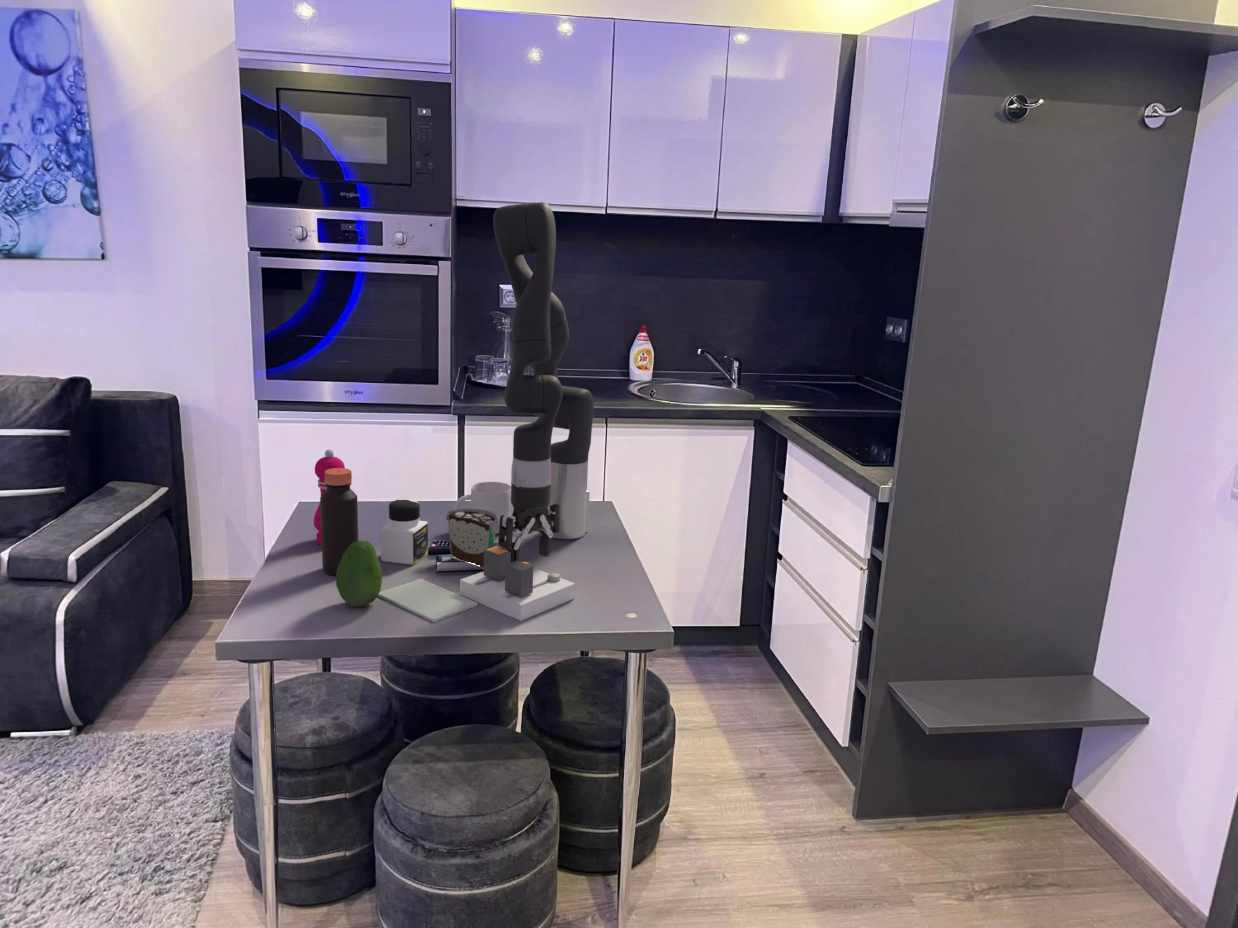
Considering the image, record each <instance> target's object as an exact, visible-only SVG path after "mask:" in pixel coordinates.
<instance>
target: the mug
mask: <svg viewBox="0 0 1238 928" xmlns="http://www.w3.org/2000/svg"><path fill="white" fill-rule="evenodd" d="M470 489H471V490H470V494H464V495H463V496H460V497H459V498H458V499H457V500H456V502H455V503H454V505H453V510H454V509H460V505H461V504H462V503H464V502H465V501H470V508H474V509H483V510H487V511H490V512H493V513H494V514H495V515H496V516H497V518H498V521H499V523H500V517H501V516H502V515H504V516H511V511H512V503H511V484H508V483H505V482H500V481H482V482H477V483H474V484H473V485H472V486H471V488H470ZM496 534H499V529H498V530H497V531H496V533H495V535H496Z"/></svg>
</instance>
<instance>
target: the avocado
mask: <svg viewBox="0 0 1238 928" xmlns="http://www.w3.org/2000/svg"><path fill="white" fill-rule="evenodd" d="M335 578H336V579H335V581H336V584H335V585H336V587H337V591H338V592H339V593H338V594H339V595H340V597H341V598H342V600H343V601H344V602H345V603H346V604H348V605H350V606H351V607H359V608H360V607H362V608H364V607H365V606H367V605H369V604H371V603H373V602H374V601H375V600H376V598H377V597H378V596H377V595H378V594H379V592H381V589H382V585H383V570H382V568H381V564H380V561H379V559H378V555H377V553H376V549H375V547H374V545H372V543H371V542H370V541H368V540H363V539H362V540H358V541H357V542H353V543H352V544H351V545H350V546H349V547H348V548H347V550H346V551H345V553H344V554H343V557H342V559H341V561H340V564H339V566H338V569H337V572H336V576H335Z"/></svg>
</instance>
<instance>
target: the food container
mask: <svg viewBox="0 0 1238 928" xmlns="http://www.w3.org/2000/svg"><path fill="white" fill-rule="evenodd" d="M445 515H446V516H445V517H446V518H445V521H447V525H448V537H449V547H450V548H449V551H450V556H451V555H453V556H455V557H456V558H458V559H460V560H464V561H467V562H471V563H475V564H476V565H480V567H481V568H480V567H479V568H480V569H483V570H484V550H486V549H489V548H492V547H495V539H496V534H495V533H496V531H497V530H498V529H499V521H498V518H497V516H496V515H495V514H494V513H493V512H490V511H487V510H483V509H474V508H471V507H469V508H468V507H466V508H464V507H463V508H459V509H454V508H453V509H452V510H447V513H446V514H445Z"/></svg>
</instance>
